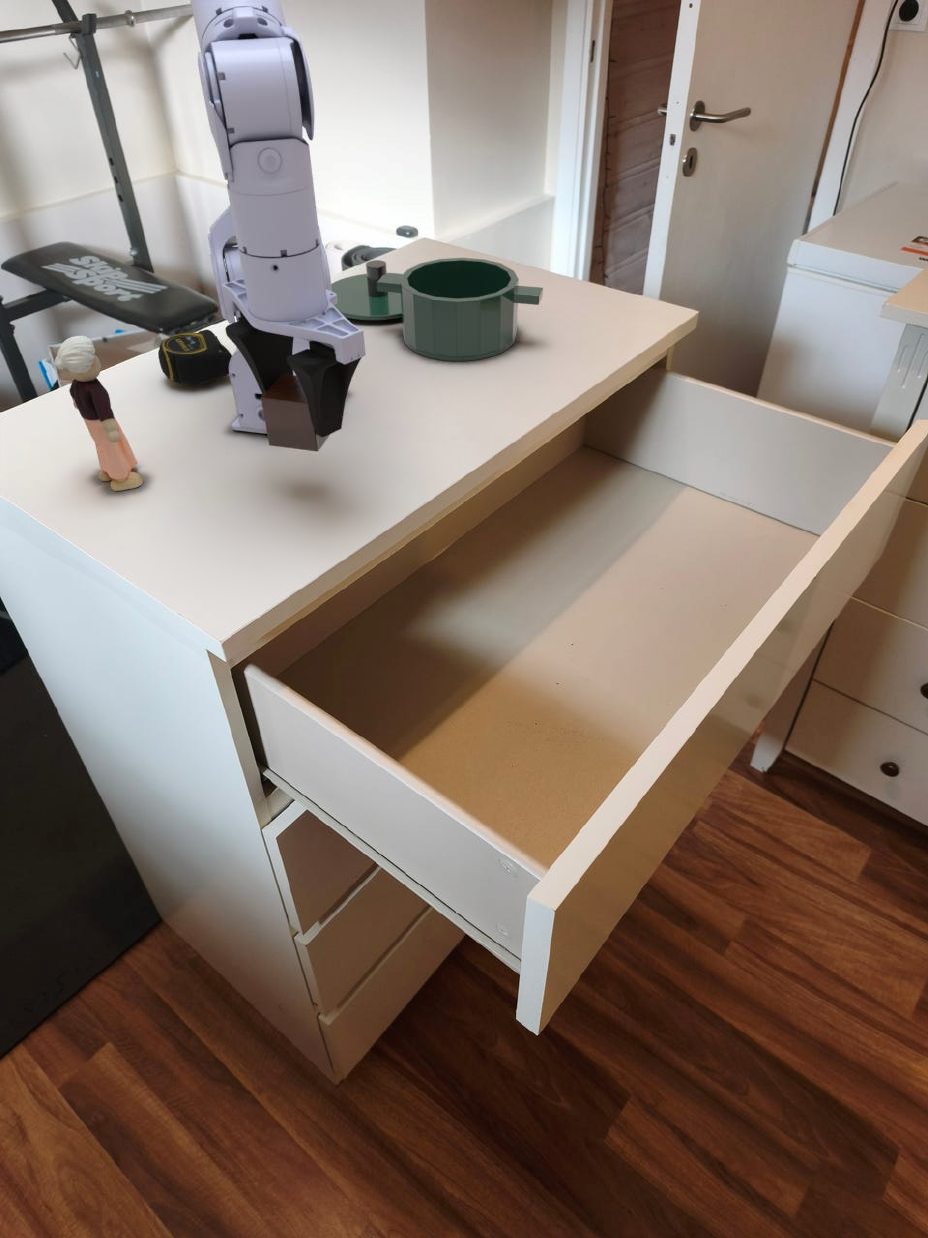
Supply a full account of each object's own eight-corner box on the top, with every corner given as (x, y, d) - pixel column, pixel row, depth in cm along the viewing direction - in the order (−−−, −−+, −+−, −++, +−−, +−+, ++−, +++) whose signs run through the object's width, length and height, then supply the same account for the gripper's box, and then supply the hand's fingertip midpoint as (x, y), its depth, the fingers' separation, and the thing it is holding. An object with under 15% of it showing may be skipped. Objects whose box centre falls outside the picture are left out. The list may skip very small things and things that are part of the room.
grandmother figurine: (164, 481, 74) (123, 341, 65) (126, 501, 72) (79, 358, 63) (111, 453, 77) (66, 317, 69) (74, 471, 75) (23, 332, 67)
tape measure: (239, 382, 88) (233, 347, 85) (173, 397, 85) (164, 362, 83) (221, 357, 92) (214, 323, 90) (157, 370, 90) (148, 336, 87)
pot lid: (419, 329, 97) (417, 289, 94) (305, 320, 100) (299, 280, 97) (447, 285, 107) (446, 247, 104) (343, 277, 110) (339, 240, 107)
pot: (528, 368, 90) (530, 307, 85) (366, 352, 93) (360, 293, 89) (547, 321, 99) (551, 264, 94) (399, 308, 102) (396, 252, 98)
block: (317, 451, 68) (311, 403, 65) (269, 445, 68) (260, 397, 65) (336, 426, 71) (330, 379, 68) (289, 420, 71) (281, 373, 68)
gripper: (391, 253, 58) (402, 430, 67) (263, 208, 65) (289, 373, 75) (310, 282, 54) (333, 466, 63) (184, 231, 62) (221, 402, 71)
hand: (305, 418), depth 69 cm, fingers closed on block, 5 cm apart
